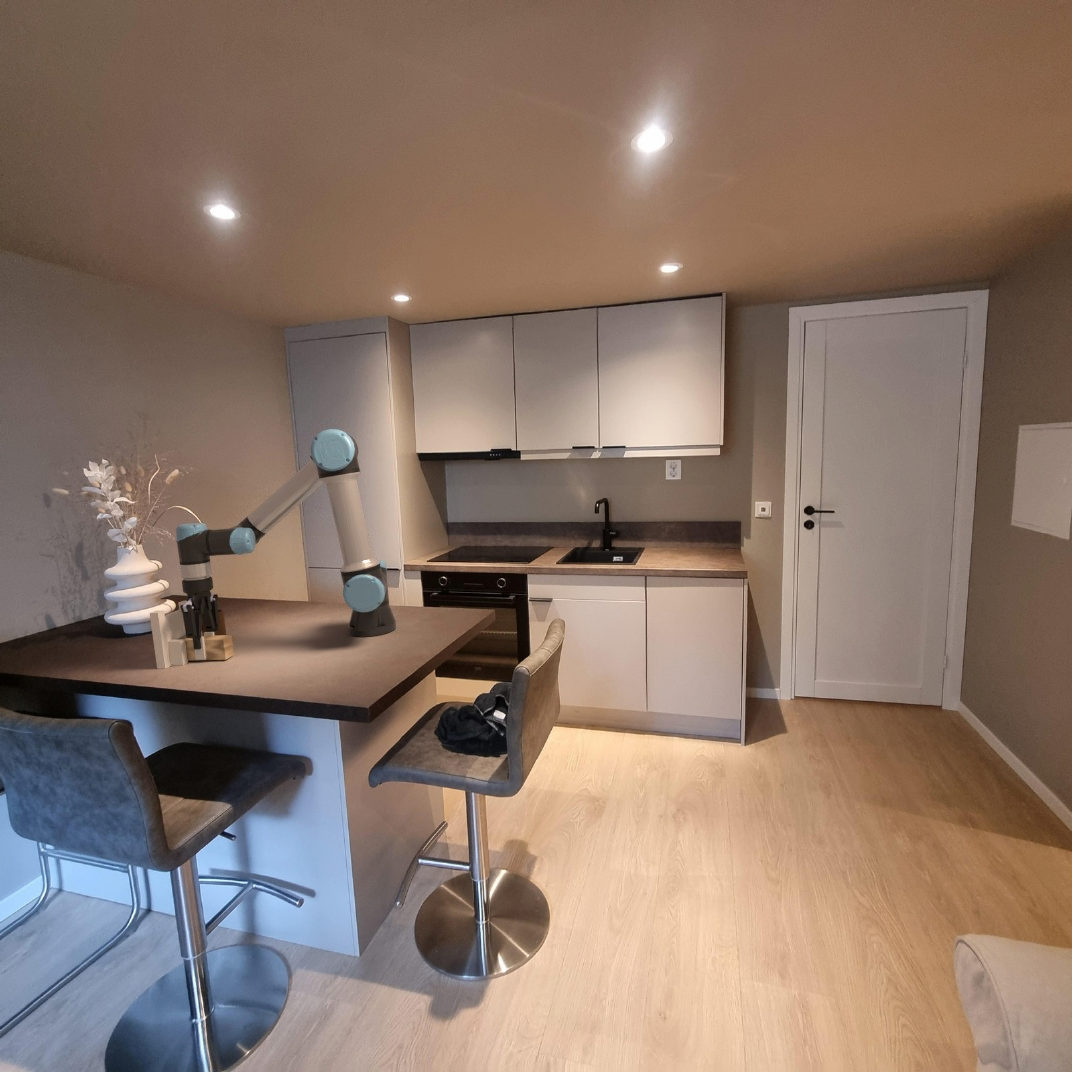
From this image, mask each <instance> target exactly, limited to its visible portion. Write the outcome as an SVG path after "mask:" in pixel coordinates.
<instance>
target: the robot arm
mask: <svg viewBox="0 0 1072 1072" xmlns="http://www.w3.org/2000/svg"><path fill="white" fill-rule="evenodd" d="M309 449H310V455H309V457H308V459H309V461H307V463H306V464H305V465H304V466H302V467H301V468H300V469H299V470H298V471H297V472H296V473H295V474H294V475H292V476H290V478H289V479H288V480H286V482H285V483H283V484H282V485H281V486H280V487H279V488H278V489H276V490H275V491H274V492H273V493H272V494H271V495H270V496H268V497H267V498H266V499H265V500H264V501H263V502H262V503H261V504H259V505H258V506H257V507H256V508H255V509H254V510H253V511H251V512H250V513H249V514H248V516H246V517H244V519H243V520H242V521H240V522H239V523H238V524H236V525H235V526H232V527H229V528H219V529H208V527H207V524H205V523H204V522H193V523H183V524H179V525H178V526H177V527H176V528H175V533H176V534H175V535H176V536H175V537H176V546H177V553H178V560H179V561H178V562H179V566H180V568H179V569H180V576H181V577H180V578H181V579H183V580H181V586H182V592H183V593H184V594H185V595H186V601H187V603H186V604H185V605H181V606H180V608H181V611H182V613H183V619H184V626H185V632H186V638H192V639H193V646H194V650H195V658H196V660H195V661H206V660H205V659H206V651H205V642H204V637H201V636H202V619H203V623H204V627H205V630H206V631H207V632H205V633H204V636H215V631H218V628H217V627H219V616H218V609H219V607H218V599H219V595H218V594H214V593H213V594H212V590H214V583H213V581H214V580H213V576H212V574H213V572H212V571H213V570H212V563H211V557H216V556H229V555H232V556H233V555H238V556H239V555H240V556H241V555H245V554H251V553H254V550H255V548H256V545H257V544H258V543H259V542H260V540H261V539H262V538H263V537H264V536H265V535H267V534H268V533H269V532H270V531H271V530H272V529H273V528H274V527H275V526H277V525H278V524H279V523H280V522H282V520H283V519H285V518H286V517H287V516H288V515H289V514H290V513H292V512H293V510H295V509H296V508H297V507H298V506H300V504H301V503H303V501H305V500H306V499H308V497H309V496H310V495H312V494H313V493H314V492H315V491H316V490H317V489H319V487H321V486H322V485H323V484H325V485H326V488H327V489H326V490H327V493H328V497H329V502H330V508H331V512H332V516H333V521H334V524H335V526H334V527H335V529H336V533H337V538H338V543H339V547H340V551H341V556H342V561H343V565H342V567H341V568H340V569H339V571H340V575H341V580H342V581H341V582H342V585H343V590H342V597H343V600H344V602H345V604H346V605H347V607H349V608H350V609H351V614H350V618H349V619H350V620H349V623H348V634H349V635H350V636H353V637H363V638H365V637H376V636H381V635H385V634H388V633H391V632H394V631H395V630H396V629H397V620H396V617H395V615H394V613H393V611H392V608H391V605H390V598H389V585H388V574H387V573H388V572H387V571H388V567H387V564H386V562H385V560H377V558H374V553H373V550H372V546H371V541H370V536H369V531H368V527H367V522H366V518H365V517H366V516H365V513H364V508H363V503H362V499H361V495H360V494H361V493H360V490H359V486H358V477H359V476H360V474H361V469H360V465H359V459H358V455H359V447H358V444H357V442H356V440H355V439H354V438H353V436H351V435H350V434H349V433H347V432H345V431H343V430H341V429H336V428H329V429H324V430H322V431H320V432H318V434H316V435H315V436H314V438H313V439H312V441H311V444H310V448H309Z"/></svg>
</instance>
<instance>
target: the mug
mask: <svg viewBox="0 0 1072 1072" xmlns="http://www.w3.org/2000/svg"><path fill="white" fill-rule="evenodd" d="M218 616H219V627H217V628H218V631H215V636H217V635H227V630H226V629H227V628H226V620H225V614H224V610H223V609H219V608H218ZM205 632H207V631H206V630H205V627H204V623H203V619H202V636H204V633H205Z"/></svg>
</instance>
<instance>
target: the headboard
mask: <svg viewBox="0 0 1072 1072" xmlns="http://www.w3.org/2000/svg"><path fill="white" fill-rule="evenodd" d="M186 603H187V600H182V601H180V602H179V601H178V610H175V611H173V612H169V613H166V614H165V610H154V611H151V612H149V618H150V624H151V625H150V626H151V633H152V641H153V646H154V647H153V648H154V654H155V656H154V657H155V662H156V669H158V670H160V669H161V670H163V669H168V668H169V667H171V666H172V667H173V666H176V667H177V666H185V665H186V664H188V663H189V660H188V659H187V652H186V644H185V639H178V638H180V637H182V636H184V635H186V632H185V626H184V619H183V613H182V611H181V608H180V606H181V605H185V604H186Z"/></svg>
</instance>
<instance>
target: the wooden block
mask: <svg viewBox="0 0 1072 1072" xmlns="http://www.w3.org/2000/svg"><path fill="white" fill-rule="evenodd" d="M232 636H233V635H232V634H226V635H217V636H201V637H204V642H205V651H206V659H205V660H204V661H223V660H225V661H226V660H227V659H230V658H231V657H233V656H235V653H234V644H233V637H232ZM178 639H185V644H186V652H187V659H188V661H197V660H196V658H195V650H194V646H193V639H192V638H186V635H184V636H182V637H180V638H178Z"/></svg>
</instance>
